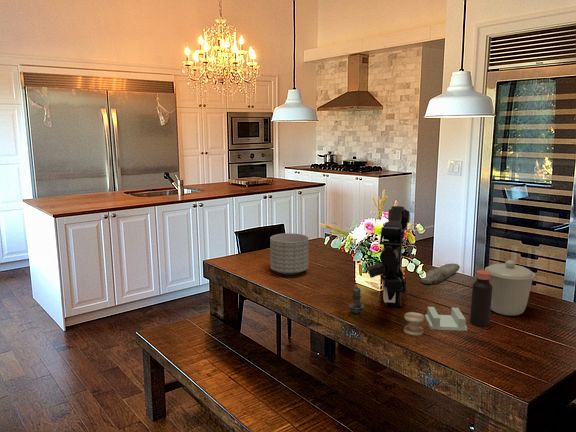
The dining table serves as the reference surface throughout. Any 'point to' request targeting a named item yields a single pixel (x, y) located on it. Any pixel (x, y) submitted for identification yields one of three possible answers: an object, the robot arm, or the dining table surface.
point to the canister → (509, 287)
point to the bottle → (481, 299)
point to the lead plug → (385, 296)
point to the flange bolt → (356, 303)
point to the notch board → (446, 320)
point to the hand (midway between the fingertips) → (389, 297)
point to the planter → (289, 253)
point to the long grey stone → (440, 273)
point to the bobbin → (414, 323)
